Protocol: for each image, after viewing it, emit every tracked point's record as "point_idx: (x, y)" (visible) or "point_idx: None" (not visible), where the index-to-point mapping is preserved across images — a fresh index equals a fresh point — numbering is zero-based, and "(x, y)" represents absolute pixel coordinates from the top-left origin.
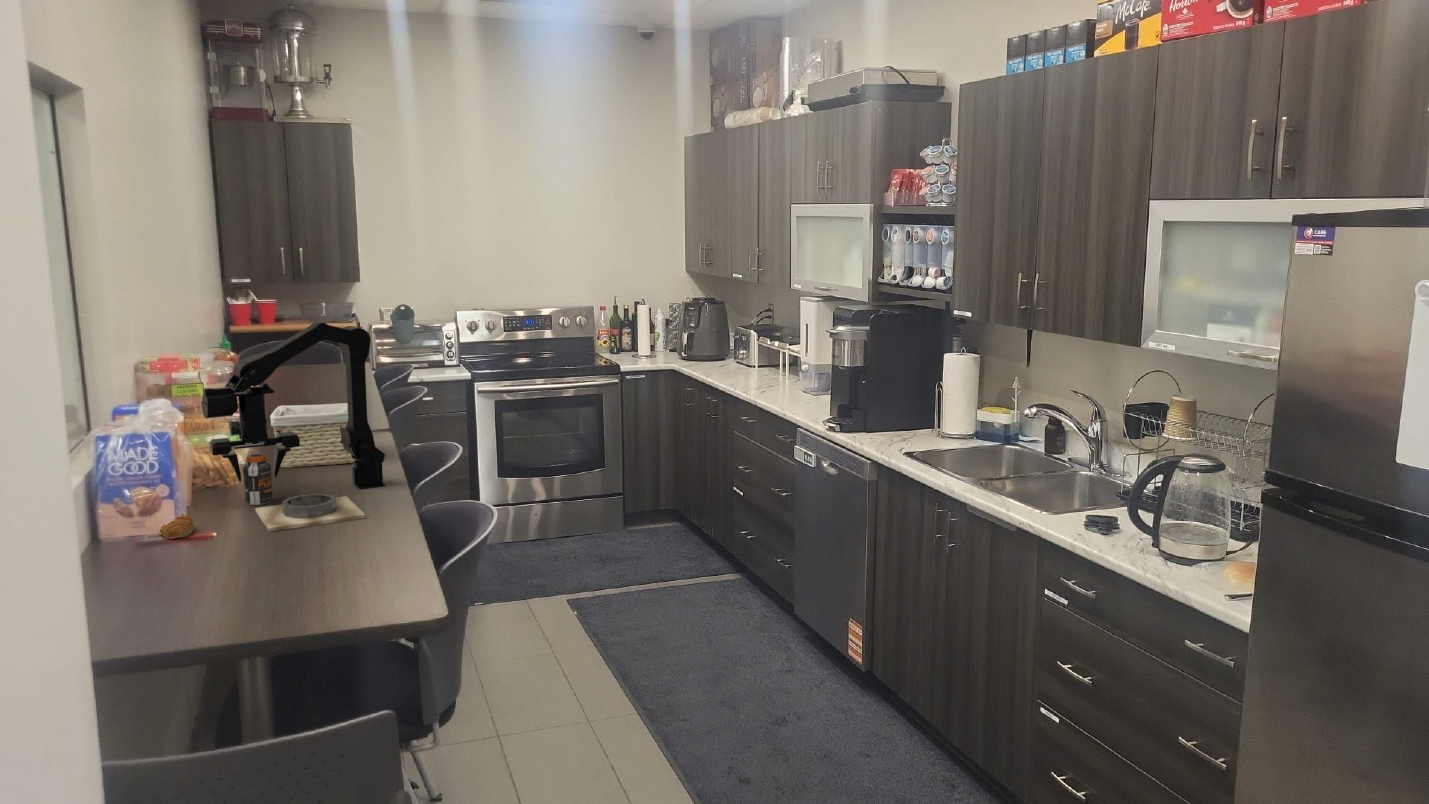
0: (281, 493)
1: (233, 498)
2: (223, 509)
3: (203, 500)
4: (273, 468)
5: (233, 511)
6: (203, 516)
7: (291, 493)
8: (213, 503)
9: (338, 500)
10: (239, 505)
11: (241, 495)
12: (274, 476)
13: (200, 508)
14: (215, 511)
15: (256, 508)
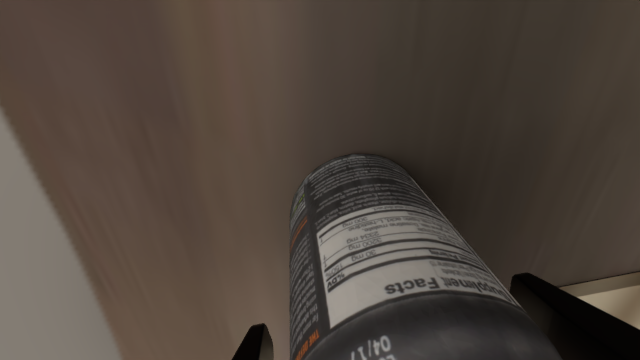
0: (487, 56)
1: (206, 83)
2: (203, 279)
3: (10, 68)
4: (571, 323)
5: (253, 312)
6: (148, 344)
7: (536, 78)
8: (114, 165)
9: (631, 319)
10: (265, 238)
11: (245, 12)
12: (513, 296)
13: (80, 240)
14: (176, 297)
15: None
